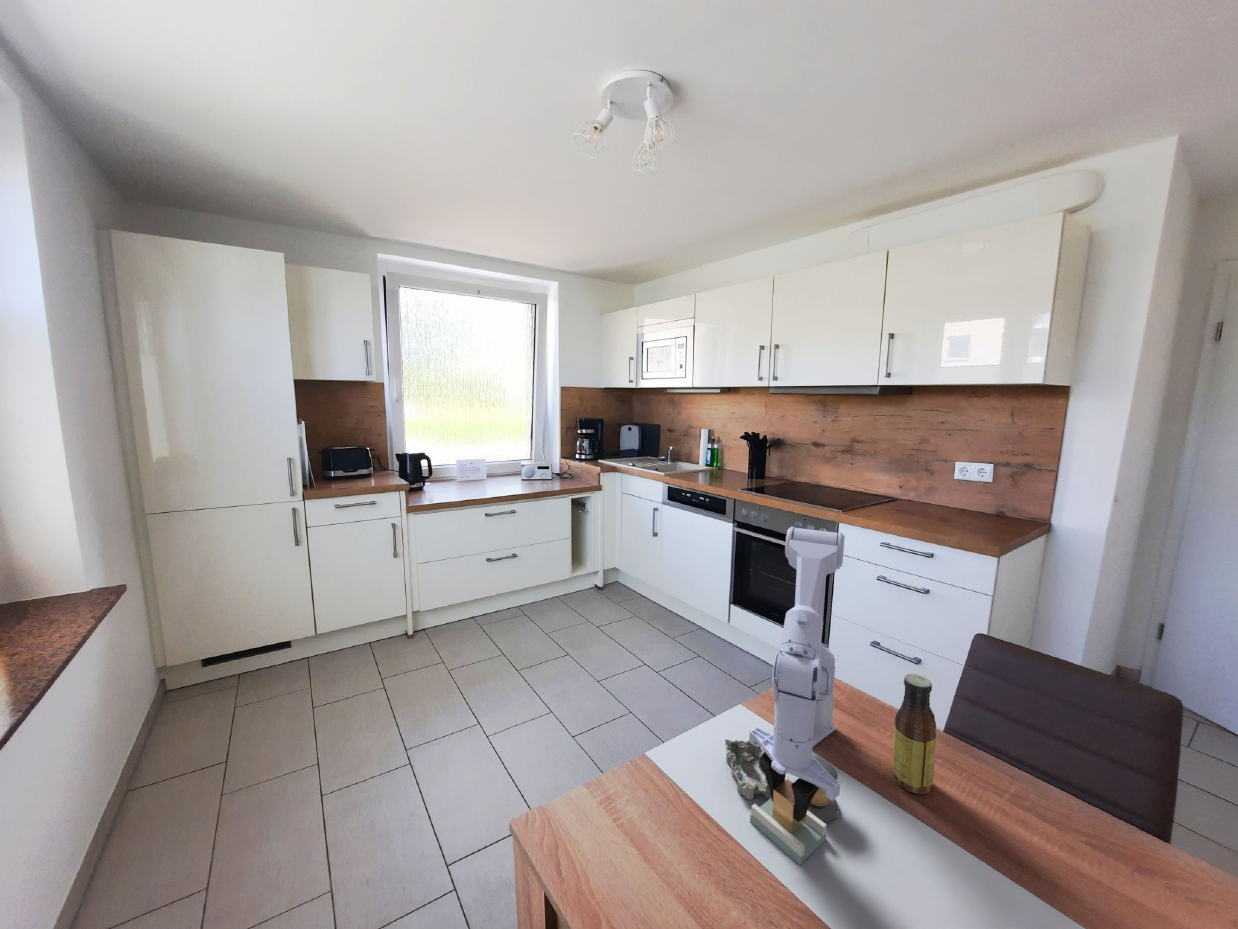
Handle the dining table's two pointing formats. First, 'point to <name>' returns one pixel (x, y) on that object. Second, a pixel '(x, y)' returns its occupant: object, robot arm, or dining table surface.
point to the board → (794, 843)
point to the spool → (824, 798)
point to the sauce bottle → (915, 737)
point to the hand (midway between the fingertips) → (788, 808)
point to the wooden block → (785, 806)
